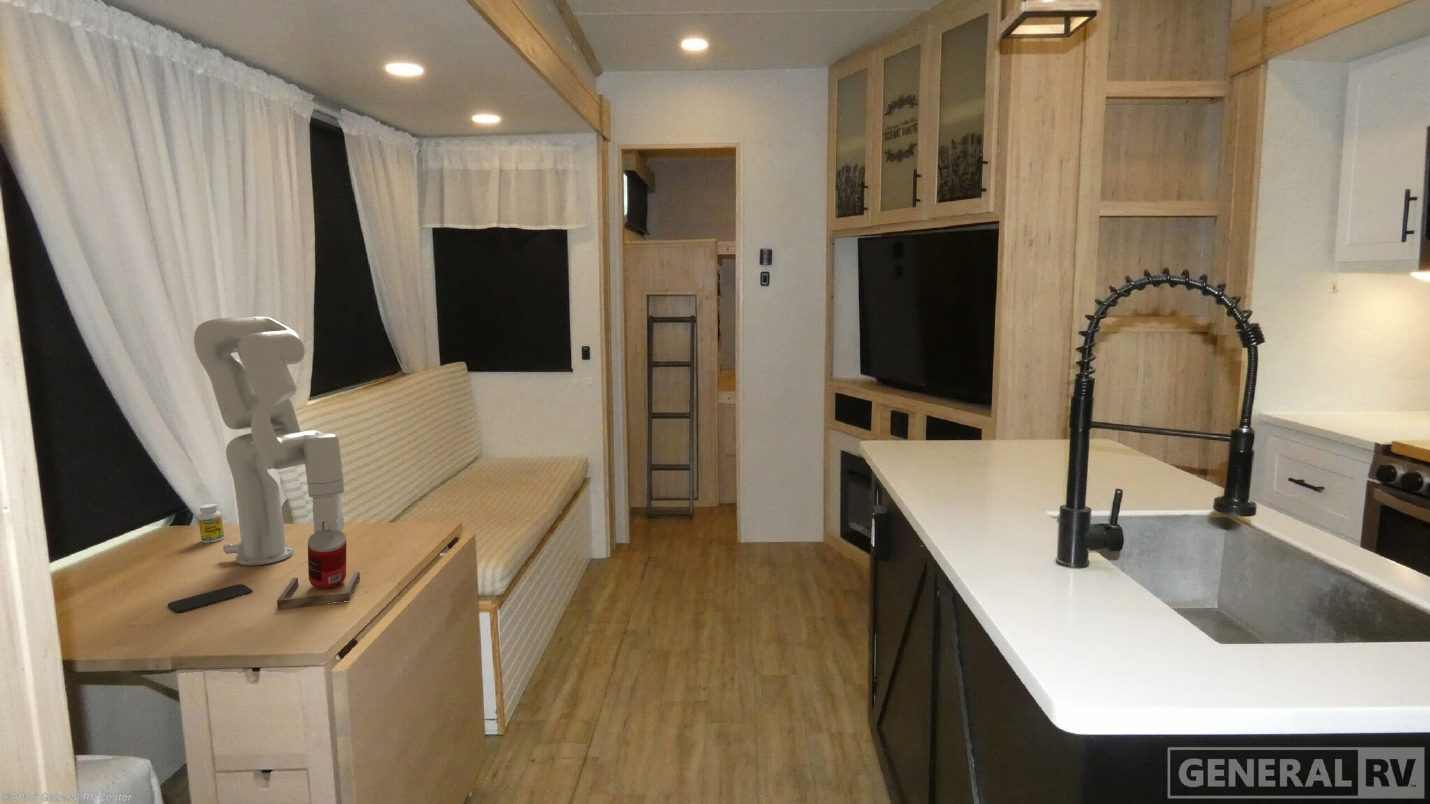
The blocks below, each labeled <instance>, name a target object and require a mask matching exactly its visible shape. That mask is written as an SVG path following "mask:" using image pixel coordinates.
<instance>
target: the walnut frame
mask: <svg viewBox="0 0 1430 804" xmlns="http://www.w3.org/2000/svg"><path fill="white" fill-rule="evenodd" d="M360 576H361V574H360V571H354V572H353V574H352V576H351V578H350V580H349V582H348V584H347V586H346V588H345V590H344V591H341V592H330V593H321V594H320V593H319V594H311V595H301V596H293V595H294V594H295V592H296V591H297V589H298V588H299V587H300V586H299V577H292V579H291V580H290V581H289V582H288V584H287V585H286V586H285V588H284V590H283V591H282V592H281V594H280V595H279V597H278V598H277V599H276V606H277V607H276V608H277V610H278V611H279V610H287V609H297V608H298V609H299V608H305V607H314V606H313V605H316V606H319V605H318V604H326V605H329V604H328V603H333V602H344V601H349V600H350V601H351V599H352V597H353V595H354V593H355V591H356V589H355V588H357V587H358V585H359V583H360V581H359V580H361V577H360ZM358 582H359V583H358ZM357 584H358V585H357ZM356 586H357V587H356ZM352 594H353V595H352ZM292 596H293V597H292ZM351 596H352V597H351ZM350 598H351V599H350ZM350 601H349V602H350ZM344 603H345V602H344Z"/></svg>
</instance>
